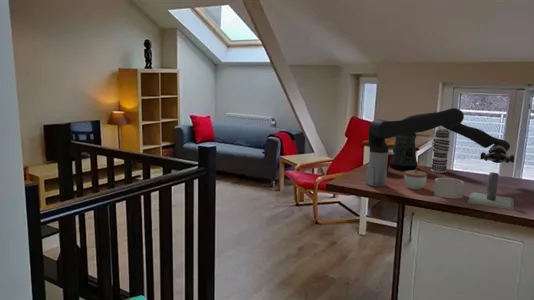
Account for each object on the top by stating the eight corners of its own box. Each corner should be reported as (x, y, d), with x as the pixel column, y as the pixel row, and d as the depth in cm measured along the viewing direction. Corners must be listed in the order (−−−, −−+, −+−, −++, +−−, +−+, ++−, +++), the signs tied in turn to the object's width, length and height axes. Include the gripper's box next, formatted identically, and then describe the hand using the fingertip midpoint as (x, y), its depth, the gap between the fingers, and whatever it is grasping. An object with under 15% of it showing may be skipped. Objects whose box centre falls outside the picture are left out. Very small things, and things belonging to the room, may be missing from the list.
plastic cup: (394, 173, 243) (396, 153, 241) (375, 173, 243) (377, 152, 241) (389, 169, 253) (391, 149, 251) (371, 168, 254) (372, 149, 251)
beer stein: (401, 171, 248) (404, 129, 244) (380, 164, 266) (383, 125, 261) (423, 169, 255) (427, 128, 250) (401, 163, 272) (404, 124, 268)
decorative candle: (429, 171, 250) (433, 129, 246) (431, 168, 258) (435, 127, 254) (445, 173, 246) (450, 130, 241) (447, 170, 254) (451, 129, 250)
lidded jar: (427, 191, 208) (429, 172, 206) (404, 189, 209) (406, 171, 208) (423, 185, 218) (425, 167, 216) (402, 184, 220) (403, 166, 218)
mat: (513, 210, 180) (513, 209, 180) (466, 203, 189) (467, 202, 189) (513, 200, 196) (513, 199, 196) (470, 194, 205) (470, 193, 204)
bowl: (447, 200, 193) (449, 185, 192) (428, 192, 205) (429, 178, 203) (468, 197, 198) (470, 183, 197) (448, 190, 209) (449, 177, 208)
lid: (510, 208, 182) (514, 179, 179) (469, 202, 189) (472, 174, 187) (511, 199, 195) (514, 172, 193) (472, 193, 203) (475, 167, 201)
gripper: (482, 145, 215) (480, 150, 202) (515, 148, 208) (515, 153, 195) (481, 160, 217) (478, 165, 203) (513, 163, 210) (513, 169, 196)
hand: (496, 159), depth 199 cm, fingers open, 8 cm apart
